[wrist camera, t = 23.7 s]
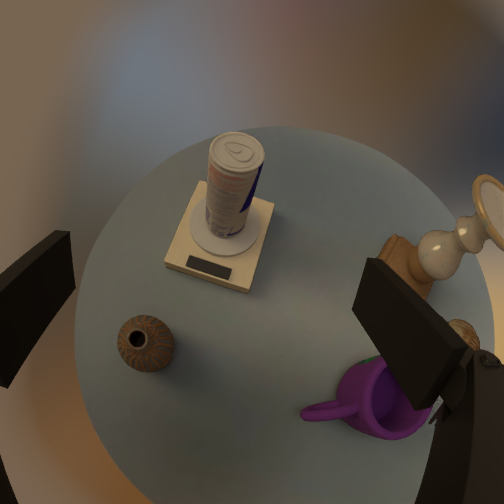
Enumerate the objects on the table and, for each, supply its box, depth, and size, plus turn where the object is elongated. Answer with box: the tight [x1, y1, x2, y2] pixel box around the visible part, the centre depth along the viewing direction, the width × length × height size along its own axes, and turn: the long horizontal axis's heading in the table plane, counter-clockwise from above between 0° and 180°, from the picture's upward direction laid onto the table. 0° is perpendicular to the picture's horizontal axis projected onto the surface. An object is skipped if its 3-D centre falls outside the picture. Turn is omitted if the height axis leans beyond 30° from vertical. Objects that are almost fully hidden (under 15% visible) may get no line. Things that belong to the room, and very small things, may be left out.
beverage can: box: [205, 132, 265, 237], centre depth 36 cm, size 6×6×15 cm
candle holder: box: [377, 174, 504, 300], centre depth 36 cm, size 11×11×24 cm
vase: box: [117, 315, 174, 372], centre depth 34 cm, size 7×7×9 cm
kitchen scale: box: [164, 180, 275, 294], centre depth 44 cm, size 12×14×3 cm
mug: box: [300, 355, 434, 440], centre depth 34 cm, size 17×11×10 cm, turn 97°
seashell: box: [449, 319, 480, 351], centre depth 41 cm, size 9×7×8 cm
